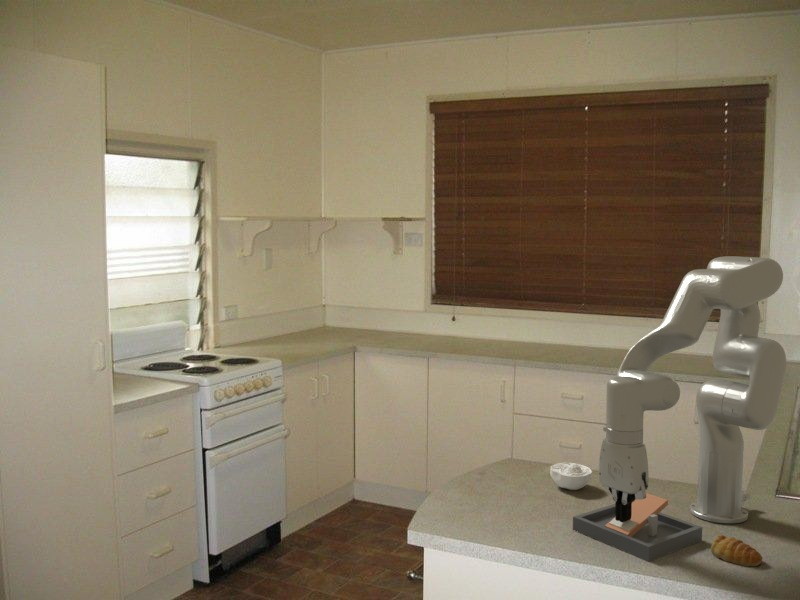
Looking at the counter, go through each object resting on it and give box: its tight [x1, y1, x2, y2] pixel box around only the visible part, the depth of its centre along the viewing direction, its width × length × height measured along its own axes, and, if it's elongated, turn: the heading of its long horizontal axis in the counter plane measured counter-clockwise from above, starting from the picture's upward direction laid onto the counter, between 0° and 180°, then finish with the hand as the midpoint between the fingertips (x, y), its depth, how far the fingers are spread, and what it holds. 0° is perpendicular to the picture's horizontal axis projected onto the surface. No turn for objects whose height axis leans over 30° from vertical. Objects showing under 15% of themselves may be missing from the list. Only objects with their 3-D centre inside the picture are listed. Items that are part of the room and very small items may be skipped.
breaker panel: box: [572, 503, 703, 562], centre depth 169 cm, size 18×20×6 cm
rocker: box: [605, 492, 669, 537], centre depth 169 cm, size 14×7×2 cm, turn 125°
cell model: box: [549, 461, 593, 491], centre depth 201 cm, size 10×12×7 cm
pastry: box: [710, 534, 763, 567], centre depth 158 cm, size 9×7×4 cm
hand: (623, 519), depth 167 cm, fingers closed
